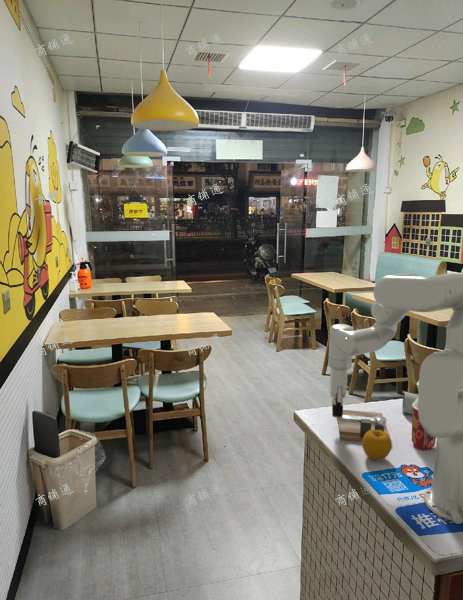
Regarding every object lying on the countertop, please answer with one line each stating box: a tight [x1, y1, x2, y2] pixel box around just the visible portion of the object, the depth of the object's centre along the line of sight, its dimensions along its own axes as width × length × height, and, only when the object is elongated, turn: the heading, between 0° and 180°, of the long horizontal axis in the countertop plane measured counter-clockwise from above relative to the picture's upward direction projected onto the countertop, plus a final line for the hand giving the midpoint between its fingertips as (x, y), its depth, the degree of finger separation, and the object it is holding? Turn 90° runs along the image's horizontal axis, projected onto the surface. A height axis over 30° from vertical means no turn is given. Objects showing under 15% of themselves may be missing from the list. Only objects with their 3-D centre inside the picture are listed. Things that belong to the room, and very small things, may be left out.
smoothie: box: [411, 398, 437, 451], centre depth 136 cm, size 8×8×20 cm
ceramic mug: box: [401, 391, 418, 415], centre depth 161 cm, size 11×8×8 cm
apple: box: [361, 430, 392, 461], centre depth 131 cm, size 9×8×9 cm
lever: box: [331, 395, 387, 427], centre depth 144 cm, size 18×4×10 cm, turn 79°
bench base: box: [337, 409, 391, 444], centre depth 149 cm, size 20×16×7 cm
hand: (337, 412), depth 146 cm, fingers closed on lever, 3 cm apart
